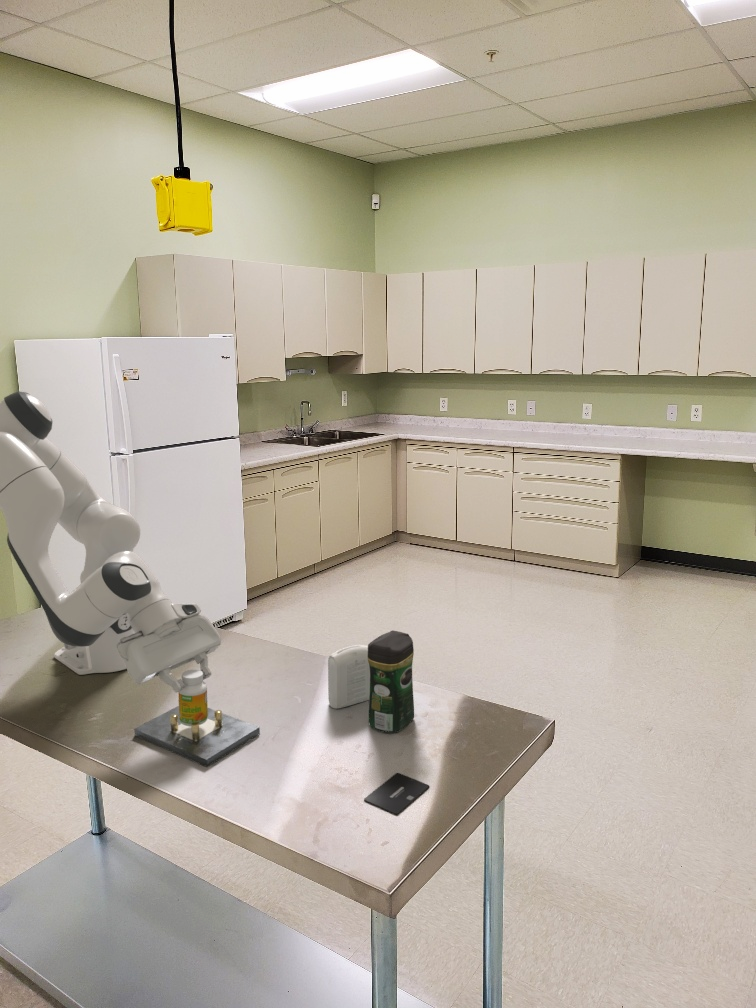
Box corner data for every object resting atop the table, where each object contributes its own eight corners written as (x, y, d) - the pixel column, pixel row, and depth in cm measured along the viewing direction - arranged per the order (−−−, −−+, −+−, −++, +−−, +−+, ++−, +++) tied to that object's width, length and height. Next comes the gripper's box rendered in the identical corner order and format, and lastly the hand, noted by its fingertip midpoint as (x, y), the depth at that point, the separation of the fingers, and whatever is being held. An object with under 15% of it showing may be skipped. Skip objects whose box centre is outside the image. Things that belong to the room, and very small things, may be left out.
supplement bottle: (178, 727, 147) (176, 680, 145) (180, 714, 152) (179, 668, 150) (206, 726, 147) (205, 679, 145) (208, 713, 153) (207, 667, 151)
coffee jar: (386, 707, 161) (386, 624, 157) (419, 717, 157) (420, 632, 153) (361, 728, 153) (360, 640, 149) (395, 738, 149) (395, 649, 145)
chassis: (134, 735, 151) (133, 714, 150) (189, 707, 162) (187, 687, 161) (206, 767, 140) (205, 744, 139) (259, 734, 151) (258, 713, 150)
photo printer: (366, 691, 168) (365, 638, 166) (377, 698, 165) (376, 645, 162) (325, 703, 163) (324, 649, 160) (335, 711, 159) (334, 656, 157)
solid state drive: (430, 788, 133) (430, 785, 133) (397, 818, 125) (397, 814, 125) (397, 775, 137) (397, 772, 137) (363, 802, 130) (363, 799, 129)
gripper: (119, 633, 141) (157, 696, 138) (204, 601, 157) (240, 657, 154) (106, 650, 145) (143, 712, 141) (190, 617, 161) (225, 672, 157)
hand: (194, 683), depth 148 cm, fingers open, 5 cm apart
